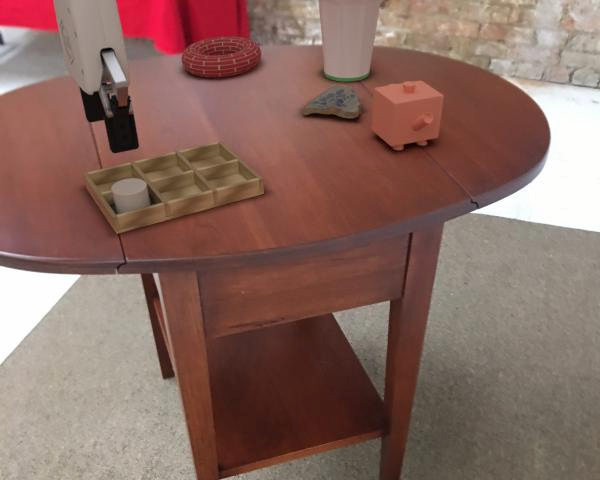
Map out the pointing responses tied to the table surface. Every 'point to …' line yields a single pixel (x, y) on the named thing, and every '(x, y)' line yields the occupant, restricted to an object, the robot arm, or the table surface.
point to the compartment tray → (177, 184)
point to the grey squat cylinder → (130, 195)
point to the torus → (221, 56)
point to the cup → (348, 37)
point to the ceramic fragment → (336, 103)
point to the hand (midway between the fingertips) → (112, 134)
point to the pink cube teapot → (406, 113)
